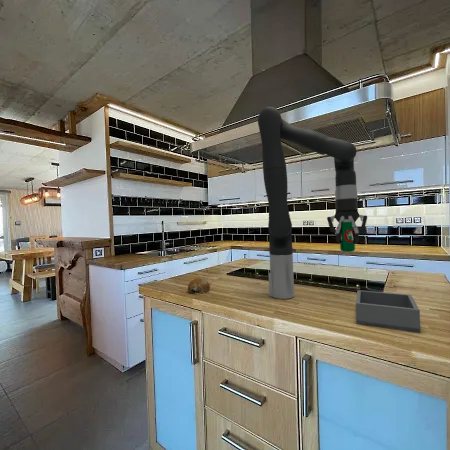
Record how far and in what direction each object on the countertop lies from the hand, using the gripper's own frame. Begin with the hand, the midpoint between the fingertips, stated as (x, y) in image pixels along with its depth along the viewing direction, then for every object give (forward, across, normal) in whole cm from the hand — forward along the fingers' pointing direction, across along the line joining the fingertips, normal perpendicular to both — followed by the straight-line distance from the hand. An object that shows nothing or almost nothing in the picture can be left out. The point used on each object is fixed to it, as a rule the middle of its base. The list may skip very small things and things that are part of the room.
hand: (347, 243), depth 96 cm
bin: (+21, +11, -16) cm, 28 cm away
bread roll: (+22, -61, -11) cm, 66 cm away
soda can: (+3, 0, 0) cm, 3 cm away
